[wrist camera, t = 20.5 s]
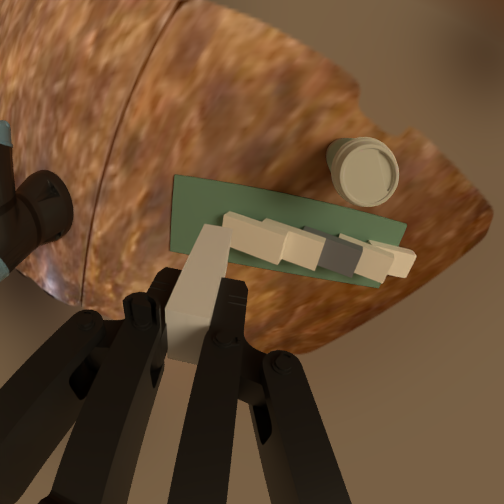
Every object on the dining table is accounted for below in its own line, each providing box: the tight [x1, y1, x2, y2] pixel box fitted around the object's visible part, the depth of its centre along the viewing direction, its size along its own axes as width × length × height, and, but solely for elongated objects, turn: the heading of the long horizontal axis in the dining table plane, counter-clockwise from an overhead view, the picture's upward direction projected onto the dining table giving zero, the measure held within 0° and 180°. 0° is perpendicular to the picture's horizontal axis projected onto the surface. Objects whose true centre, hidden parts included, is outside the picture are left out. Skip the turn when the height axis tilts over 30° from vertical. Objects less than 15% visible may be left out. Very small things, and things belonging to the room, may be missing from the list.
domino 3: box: [339, 233, 394, 284], centre depth 44 cm, size 2×5×10 cm
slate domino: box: [303, 226, 363, 278], centre depth 43 cm, size 2×5×10 cm
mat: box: [170, 174, 407, 288], centre depth 45 cm, size 40×14×1 cm, turn 80°
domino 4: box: [367, 240, 417, 278], centre depth 45 cm, size 2×5×10 cm
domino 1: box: [222, 211, 289, 265], centre depth 43 cm, size 2×5×10 cm
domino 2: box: [262, 218, 326, 271], centre depth 43 cm, size 2×5×10 cm
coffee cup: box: [326, 137, 399, 207], centre depth 33 cm, size 8×9×12 cm
